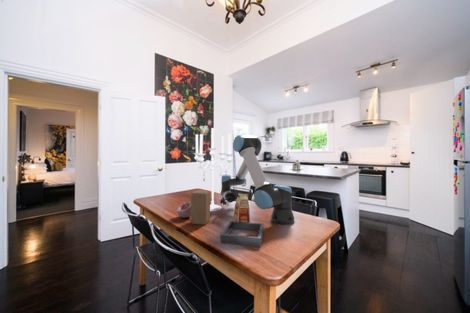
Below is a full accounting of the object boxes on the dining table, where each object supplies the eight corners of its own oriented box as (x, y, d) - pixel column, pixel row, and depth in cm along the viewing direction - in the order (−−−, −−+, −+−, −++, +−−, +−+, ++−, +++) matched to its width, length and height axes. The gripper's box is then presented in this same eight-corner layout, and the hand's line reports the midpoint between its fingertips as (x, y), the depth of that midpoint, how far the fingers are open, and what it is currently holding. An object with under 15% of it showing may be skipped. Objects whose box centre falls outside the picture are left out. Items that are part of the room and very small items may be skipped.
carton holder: (263, 230, 111) (263, 223, 111) (260, 246, 92) (260, 238, 92) (230, 227, 116) (230, 220, 115) (220, 242, 96) (220, 234, 96)
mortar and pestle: (173, 217, 135) (173, 200, 135) (189, 213, 143) (188, 198, 143) (181, 221, 126) (181, 204, 126) (197, 217, 134) (197, 201, 134)
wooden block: (205, 225, 119) (205, 193, 119) (190, 224, 121) (190, 192, 121) (210, 219, 129) (210, 190, 129) (196, 218, 131) (196, 189, 131)
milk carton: (238, 227, 115) (238, 194, 115) (232, 222, 124) (232, 191, 123) (252, 225, 119) (251, 193, 118) (245, 220, 127) (245, 190, 127)
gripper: (244, 200, 153) (254, 207, 133) (213, 202, 146) (219, 210, 125) (244, 190, 153) (254, 196, 132) (213, 192, 145) (219, 199, 125)
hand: (237, 203), depth 129 cm, fingers open, 13 cm apart
